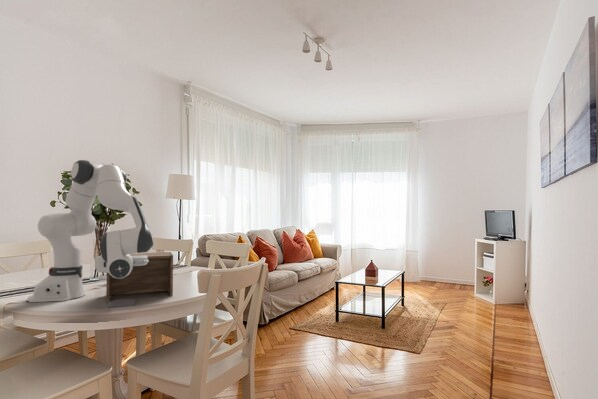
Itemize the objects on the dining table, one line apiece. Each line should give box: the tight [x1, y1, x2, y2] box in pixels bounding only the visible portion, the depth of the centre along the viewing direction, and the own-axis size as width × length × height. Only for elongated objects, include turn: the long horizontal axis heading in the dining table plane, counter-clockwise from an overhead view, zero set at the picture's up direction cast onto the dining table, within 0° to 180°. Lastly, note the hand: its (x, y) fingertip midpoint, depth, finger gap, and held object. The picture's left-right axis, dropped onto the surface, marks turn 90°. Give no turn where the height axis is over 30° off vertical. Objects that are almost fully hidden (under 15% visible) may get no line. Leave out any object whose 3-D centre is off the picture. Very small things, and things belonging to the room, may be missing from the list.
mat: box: [107, 298, 135, 308], centre depth 165 cm, size 10×10×1 cm
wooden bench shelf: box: [105, 251, 174, 302], centre depth 181 cm, size 15×28×19 cm, turn 113°
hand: (122, 259), depth 166 cm, fingers closed on block, 4 cm apart
